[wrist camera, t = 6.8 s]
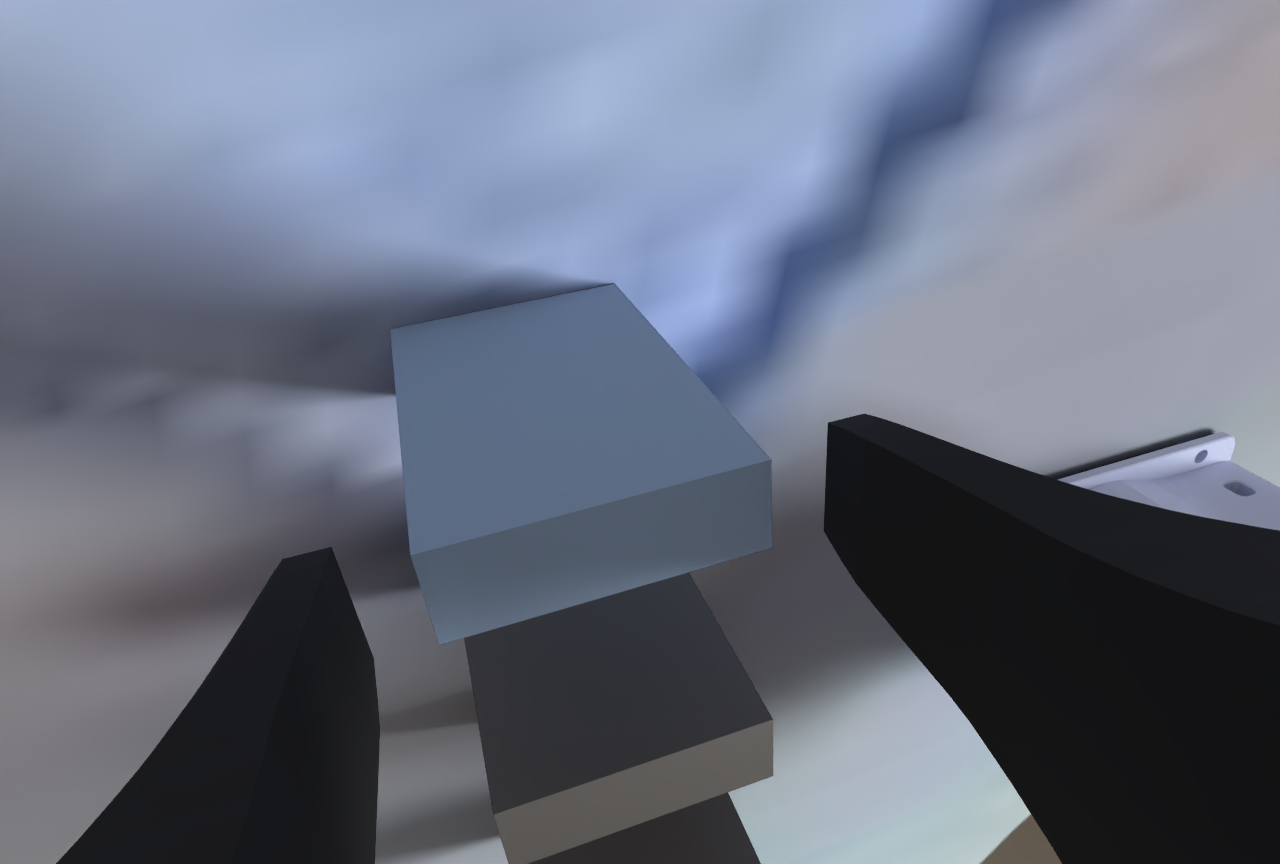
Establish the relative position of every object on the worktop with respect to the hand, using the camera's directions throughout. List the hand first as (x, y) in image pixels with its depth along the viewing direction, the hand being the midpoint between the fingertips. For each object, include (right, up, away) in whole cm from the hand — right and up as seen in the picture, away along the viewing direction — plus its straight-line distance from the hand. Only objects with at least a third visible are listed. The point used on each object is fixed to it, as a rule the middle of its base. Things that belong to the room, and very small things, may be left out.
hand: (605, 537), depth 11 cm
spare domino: (-2, +4, +6) cm, 8 cm away
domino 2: (-2, -1, +9) cm, 9 cm away
